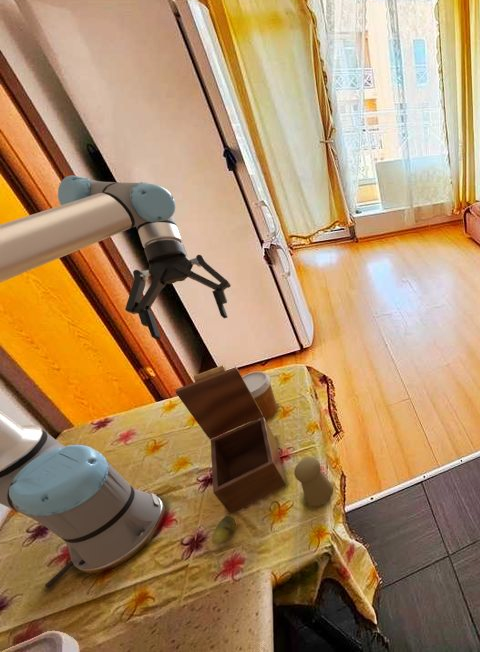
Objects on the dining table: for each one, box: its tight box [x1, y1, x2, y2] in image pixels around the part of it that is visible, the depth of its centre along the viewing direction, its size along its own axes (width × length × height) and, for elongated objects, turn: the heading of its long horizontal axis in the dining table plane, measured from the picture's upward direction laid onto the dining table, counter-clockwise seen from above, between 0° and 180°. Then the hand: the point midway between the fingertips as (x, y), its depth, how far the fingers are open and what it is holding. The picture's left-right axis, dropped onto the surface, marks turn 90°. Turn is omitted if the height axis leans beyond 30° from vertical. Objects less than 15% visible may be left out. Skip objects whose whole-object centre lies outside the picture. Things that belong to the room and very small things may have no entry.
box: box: [210, 417, 287, 515], centre depth 86 cm, size 16×12×9 cm
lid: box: [174, 364, 263, 440], centre depth 86 cm, size 17×12×6 cm
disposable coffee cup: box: [241, 371, 278, 421], centre depth 102 cm, size 10×10×12 cm
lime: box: [211, 515, 238, 545], centre depth 75 cm, size 4×5×5 cm
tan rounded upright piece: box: [294, 456, 334, 507], centre depth 80 cm, size 6×6×11 cm
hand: (191, 326), depth 84 cm, fingers open, 13 cm apart
